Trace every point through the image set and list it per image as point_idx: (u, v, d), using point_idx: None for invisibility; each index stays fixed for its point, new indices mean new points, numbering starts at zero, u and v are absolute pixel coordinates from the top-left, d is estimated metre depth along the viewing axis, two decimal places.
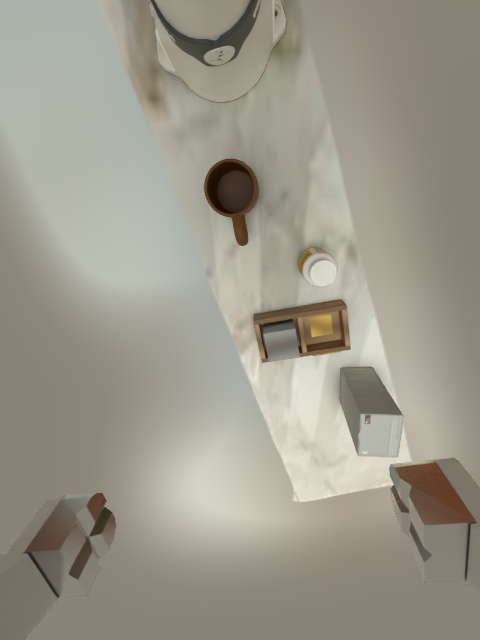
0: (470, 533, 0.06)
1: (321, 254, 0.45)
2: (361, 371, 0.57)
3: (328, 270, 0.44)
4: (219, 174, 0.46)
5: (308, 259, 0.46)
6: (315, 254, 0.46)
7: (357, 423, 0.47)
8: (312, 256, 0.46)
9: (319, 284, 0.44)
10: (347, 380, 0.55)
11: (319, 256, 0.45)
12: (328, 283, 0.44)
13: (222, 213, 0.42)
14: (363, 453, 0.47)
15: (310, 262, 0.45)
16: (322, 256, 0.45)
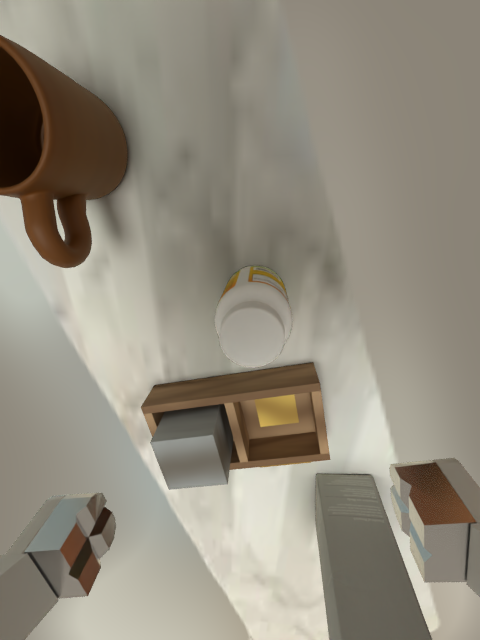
0: (470, 533, 0.06)
1: (252, 288, 0.19)
2: (351, 488, 0.31)
3: (263, 331, 0.17)
4: (18, 100, 0.20)
5: (223, 299, 0.20)
6: (239, 288, 0.19)
7: None
8: (232, 292, 0.19)
9: (244, 363, 0.18)
10: (324, 515, 0.29)
11: (246, 292, 0.19)
12: (265, 361, 0.18)
13: None
14: None
15: (227, 307, 0.19)
16: (254, 293, 0.19)
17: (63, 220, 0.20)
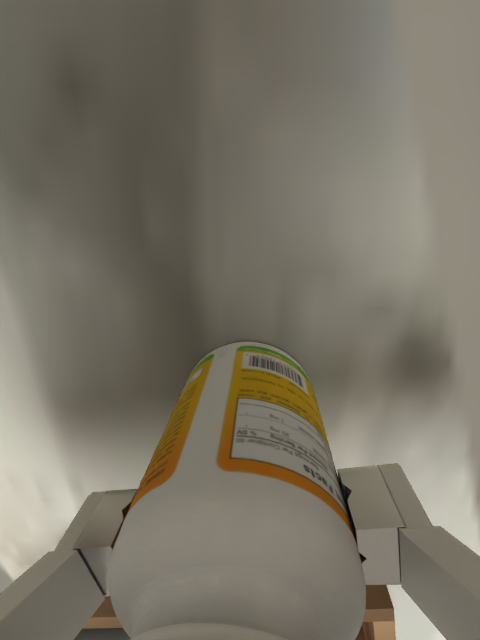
0: (399, 537, 0.06)
1: (226, 524, 0.05)
2: None
3: None
4: None
5: (129, 537, 0.06)
6: (181, 507, 0.05)
7: None
8: (155, 525, 0.05)
9: None
10: None
11: (202, 543, 0.05)
12: None
13: None
14: None
15: (136, 580, 0.05)
16: (235, 549, 0.05)
17: None
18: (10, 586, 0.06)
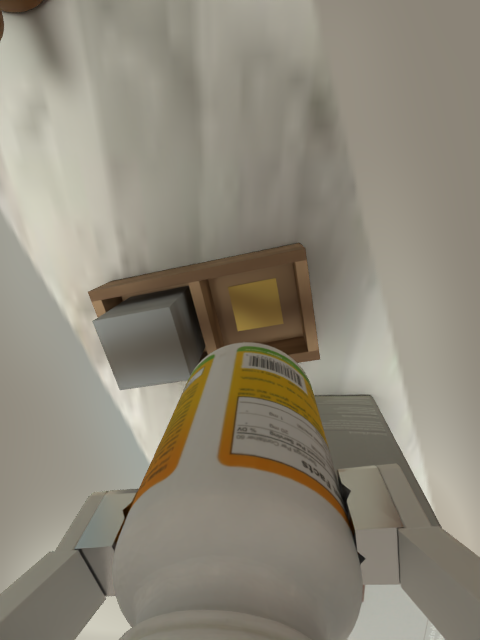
0: (398, 538, 0.06)
1: (226, 516, 0.05)
2: (347, 406, 0.26)
3: None
4: None
5: (133, 530, 0.06)
6: (183, 500, 0.06)
7: None
8: (158, 518, 0.06)
9: None
10: None
11: (204, 534, 0.05)
12: None
13: None
14: None
15: (139, 571, 0.05)
16: (235, 540, 0.05)
17: None
18: (11, 586, 0.06)
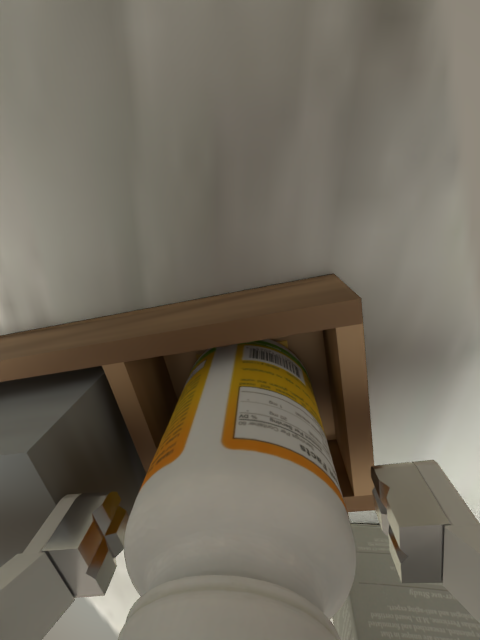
0: (444, 535, 0.06)
1: (231, 494, 0.06)
2: None
3: None
4: None
5: (143, 508, 0.06)
6: (190, 480, 0.06)
7: None
8: (167, 496, 0.06)
9: None
10: None
11: (210, 510, 0.06)
12: None
13: None
14: None
15: (150, 545, 0.06)
16: (240, 514, 0.06)
17: None
18: None
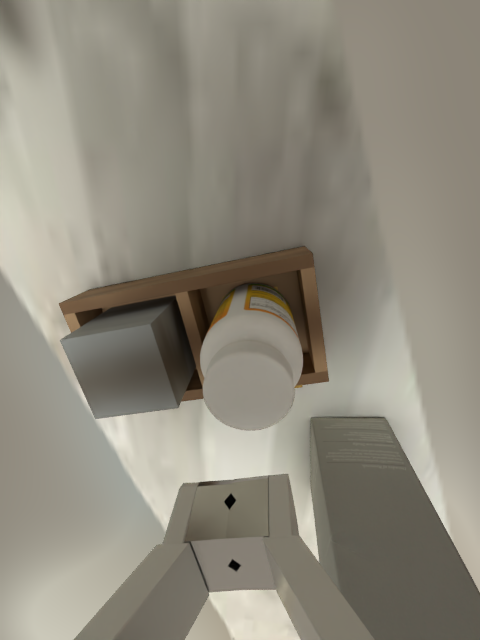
0: (264, 546, 0.06)
1: (249, 320, 0.14)
2: (359, 431, 0.23)
3: (264, 384, 0.12)
4: None
5: (211, 333, 0.15)
6: (232, 319, 0.14)
7: None
8: (222, 325, 0.14)
9: (238, 425, 0.13)
10: (321, 463, 0.20)
11: (241, 326, 0.14)
12: (267, 423, 0.13)
13: None
14: None
15: (215, 345, 0.14)
16: (252, 327, 0.14)
17: None
18: (128, 580, 0.06)
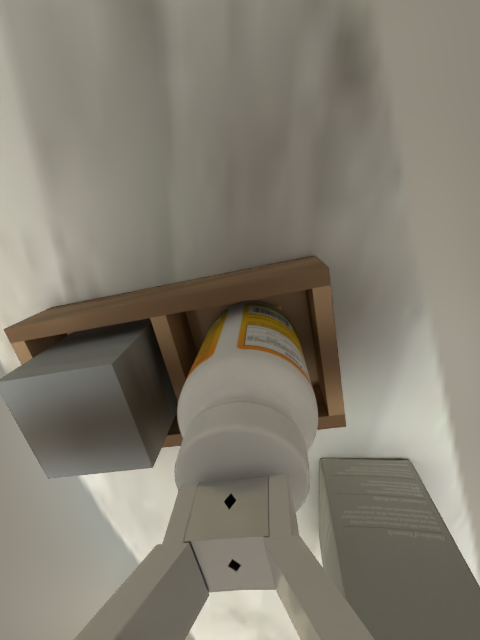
0: (264, 546, 0.06)
1: (243, 366, 0.10)
2: (379, 480, 0.19)
3: (265, 470, 0.08)
4: None
5: (191, 382, 0.11)
6: (220, 363, 0.10)
7: None
8: (206, 372, 0.10)
9: None
10: (335, 527, 0.16)
11: (232, 375, 0.10)
12: None
13: None
14: None
15: (197, 399, 0.10)
16: (248, 376, 0.10)
17: None
18: (128, 580, 0.06)
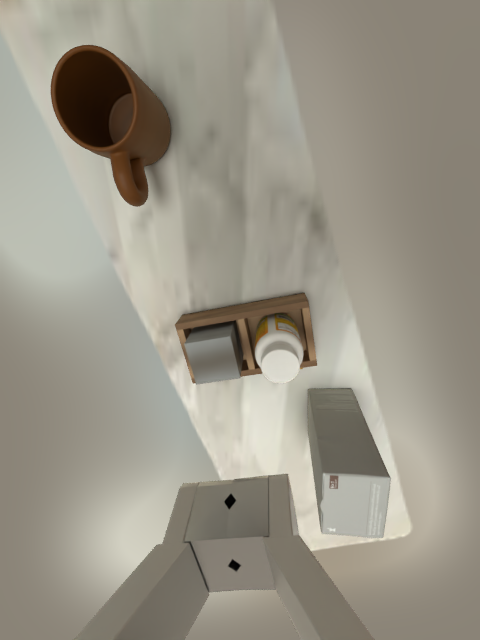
0: (264, 546, 0.06)
1: (279, 335, 0.32)
2: (335, 395, 0.40)
3: (287, 362, 0.30)
4: (100, 94, 0.29)
5: (261, 341, 0.32)
6: (271, 334, 0.32)
7: (320, 484, 0.30)
8: (267, 337, 0.32)
9: (275, 381, 0.31)
10: (313, 410, 0.38)
11: (275, 338, 0.31)
12: (288, 380, 0.31)
13: (87, 146, 0.25)
14: (329, 530, 0.30)
15: (264, 346, 0.32)
16: (281, 338, 0.31)
17: None
18: (127, 580, 0.06)
